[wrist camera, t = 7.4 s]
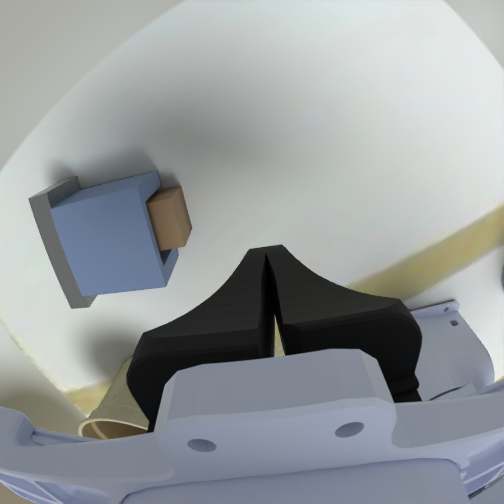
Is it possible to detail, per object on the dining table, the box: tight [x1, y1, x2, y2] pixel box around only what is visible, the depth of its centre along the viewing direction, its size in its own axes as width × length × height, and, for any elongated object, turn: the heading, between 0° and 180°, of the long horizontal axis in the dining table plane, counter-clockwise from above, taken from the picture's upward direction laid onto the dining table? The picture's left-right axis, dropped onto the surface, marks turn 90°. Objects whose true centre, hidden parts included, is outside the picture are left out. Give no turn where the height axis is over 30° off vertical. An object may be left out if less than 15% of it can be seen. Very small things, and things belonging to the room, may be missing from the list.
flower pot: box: [78, 357, 149, 440], centre depth 23 cm, size 9×9×9 cm
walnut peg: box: [145, 186, 192, 251], centre depth 19 cm, size 6×3×3 cm, turn 100°
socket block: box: [50, 171, 179, 296], centre depth 19 cm, size 6×6×4 cm
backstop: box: [29, 176, 97, 309], centre depth 19 cm, size 2×8×4 cm, turn 9°
